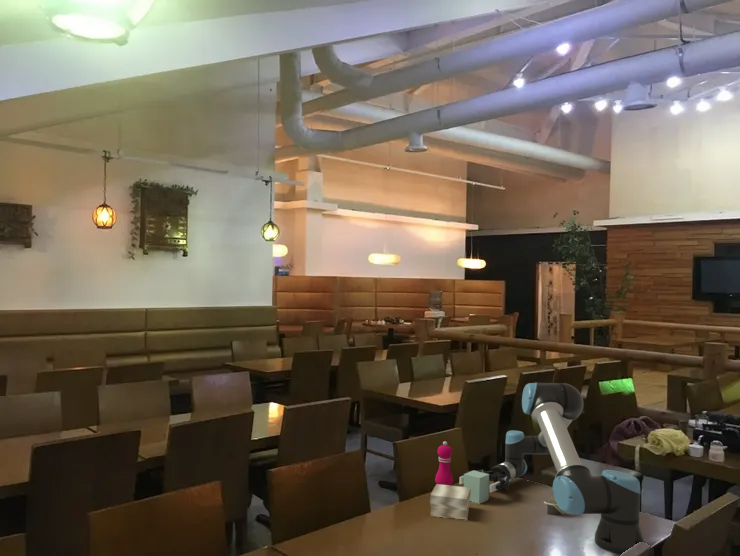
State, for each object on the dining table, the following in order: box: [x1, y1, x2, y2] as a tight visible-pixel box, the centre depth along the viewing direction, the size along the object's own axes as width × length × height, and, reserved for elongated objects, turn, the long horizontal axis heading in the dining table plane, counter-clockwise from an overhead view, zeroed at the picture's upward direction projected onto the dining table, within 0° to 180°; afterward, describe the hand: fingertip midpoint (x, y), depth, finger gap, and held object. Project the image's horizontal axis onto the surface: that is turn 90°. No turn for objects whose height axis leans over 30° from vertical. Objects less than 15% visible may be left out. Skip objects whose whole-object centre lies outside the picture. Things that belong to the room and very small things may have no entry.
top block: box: [429, 483, 471, 510], centre depth 231 cm, size 13×13×4 cm
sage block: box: [463, 470, 490, 505], centre depth 245 cm, size 7×7×10 cm
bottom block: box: [430, 503, 470, 521], centre depth 231 cm, size 13×13×4 cm
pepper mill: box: [434, 441, 454, 486], centre depth 254 cm, size 7×7×20 cm
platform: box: [543, 496, 566, 515], centre depth 232 cm, size 12×18×7 cm, turn 106°
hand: (474, 484), depth 245 cm, fingers open, 13 cm apart
